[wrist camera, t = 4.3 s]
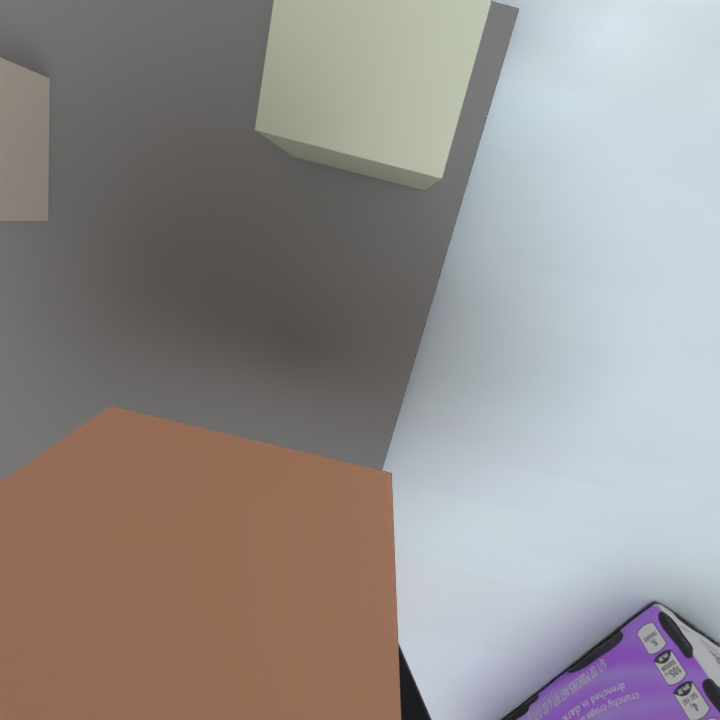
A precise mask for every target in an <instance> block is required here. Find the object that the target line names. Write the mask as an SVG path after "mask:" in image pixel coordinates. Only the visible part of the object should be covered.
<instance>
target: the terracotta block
mask: <svg viewBox="0 0 720 720" xmlns="http://www.w3.org/2000/svg"><path fill="white" fill-rule="evenodd" d="M0 720H401V702H400V676H399V650H398V624H397V598H396V572H395V546H394V520H393V494H392V473H389V472H385V471H381V470H377V469H372V468H368V467H364V466H360V465H356V464H351V463H347V462H343V461H339V460H335V459H330V458H326V457H322V456H318V455H314V454H309V453H305V452H301V451H297V450H293V449H288V448H284V447H280V446H276V445H272V444H267V443H263V442H259V441H255V440H251V439H246V438H242V437H238V436H234V435H230V434H225V433H221V432H217V431H213V430H208V429H204V428H200V427H196V426H192V425H187V424H183V423H179V422H175V421H171V420H166V419H162V418H158V417H154V416H150V415H145V414H141V413H137V412H133V411H129V410H124V409H120V408H116V407H112V406H110V407H108V408H107V409H105V410H104V411H102V412H101V413H100V414H98V415H97V416H95V417H94V418H92V419H91V420H89V421H88V422H86V423H85V424H84V425H82V426H81V427H79V428H78V429H76V430H75V431H73V432H72V433H70V434H69V435H68V436H66V437H65V438H63V439H62V440H60V441H59V442H57V443H56V444H55V445H53V446H52V447H50V448H49V449H47V450H46V451H44V452H43V453H41V454H40V455H39V456H37V457H36V458H34V459H33V460H31V461H30V462H28V463H27V464H26V465H24V466H23V467H21V468H20V469H18V470H17V471H15V472H14V473H12V474H11V475H10V476H8V477H7V478H5V479H4V480H2V481H1V482H0Z"/></svg>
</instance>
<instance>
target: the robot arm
mask: <svg viewBox="0 0 720 720" xmlns="http://www.w3.org/2000/svg"><path fill="white" fill-rule="evenodd" d="M398 650H399V676H400V702H401V720H431V717H430V715H429V713H428V710H427V708H426V706H425V703H424V701H423V699H422V697H421V694H420V692H419V690H418V687H417V685H416V683H415V680H414V678H413V676H412V673H411V671H410V669H409V666H408V664H407V662H406V660H405V657H404V655H403V653H402V650H401V648H400V646H399V643H398Z"/></svg>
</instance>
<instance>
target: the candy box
mask: <svg viewBox="0 0 720 720" xmlns="http://www.w3.org/2000/svg"><path fill="white" fill-rule="evenodd" d="M505 720H720V645H718V644H717V643H715V642H714V641H713V640H711V639H709V638H708V637H706V636H705V635H703V634H702V633H700V632H699V631H698V630H696V629H695V628H694V627H692V626H691V625H690V624H688V623H687V622H686V621H684V620H683V619H682V618H681V617H679V616H678V615H676V614H674V613H673V612H671V611H670V610H668V609H666V608H665V607H663V606H662V605H660V604H654V605H652V606H651V607H650V608H648V609H647V610H645V611H644V612H643V613H641V614H640V615H638V616H637V617H636V618H635V619H633V620H632V621H631V622H629V623H628V624H627V625H626V626H624V627H623V628H622V629H621V630H620V631H619V632H618V633H617V634H615V635H614V636H612V637H611V638H610V639H609V640H607V641H606V642H604V643H603V644H601V645H600V646H599V647H597V648H596V649H595V650H593V651H592V652H591V653H590V654H588V655H587V656H586V657H585V658H584V659H583V660H581V661H580V662H579V663H577V664H576V665H575V666H573V667H572V668H570V669H569V670H568V671H566V672H565V673H564V674H563V675H561V676H560V677H559V678H557V679H556V680H555V681H554V682H552V683H551V684H550V685H549V686H547V687H546V688H545V689H544V690H542V691H541V692H540V693H538V694H537V695H536V696H534V697H533V698H532V699H530V700H529V701H528V702H526V703H525V704H524V705H523V706H522V707H521V708H519V709H518V710H517V711H515V712H514V713H513V714H511V715H510V716H509V717H507V718H506V719H505Z"/></svg>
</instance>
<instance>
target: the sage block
mask: <svg viewBox="0 0 720 720" xmlns="http://www.w3.org/2000/svg"><path fill="white" fill-rule="evenodd" d="M491 1H492V0H274V2H273V9H272V16H271V23H270V30H269V36H268V43H267V50H266V57H265V64H264V70H263V77H262V84H261V91H260V98H259V104H258V111H257V118H256V125H255V131H257V132H258V133H260V134H261V135H262V136H264V137H265V138H267V139H268V140H270V141H271V142H272V143H274V144H275V145H277V146H278V147H280V148H281V149H282V150H284V151H285V152H287V153H288V154H290V155H291V156H292V157H296V158H300V159H304V160H308V161H311V162H315V163H319V164H323V165H327V166H331V167H335V168H339V169H343V170H346V171H350V172H354V173H358V174H362V175H366V176H370V177H374V178H377V179H381V180H385V181H389V182H393V183H397V184H401V185H405V186H409V187H412V188H416V189H420V190H426V189H427V188H429V187H430V186H432V185H433V184H435V183H436V182H438V181H439V180H440V179H442V177H443V173H444V169H445V166H446V162H447V159H448V155H449V151H450V148H451V144H452V141H453V137H454V134H455V130H456V126H457V123H458V119H459V116H460V112H461V108H462V105H463V101H464V98H465V94H466V91H467V87H468V83H469V80H470V76H471V73H472V69H473V66H474V62H475V58H476V55H477V51H478V48H479V44H480V40H481V37H482V33H483V30H484V26H485V23H486V19H487V15H488V12H489V8H490V5H491Z"/></svg>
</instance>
